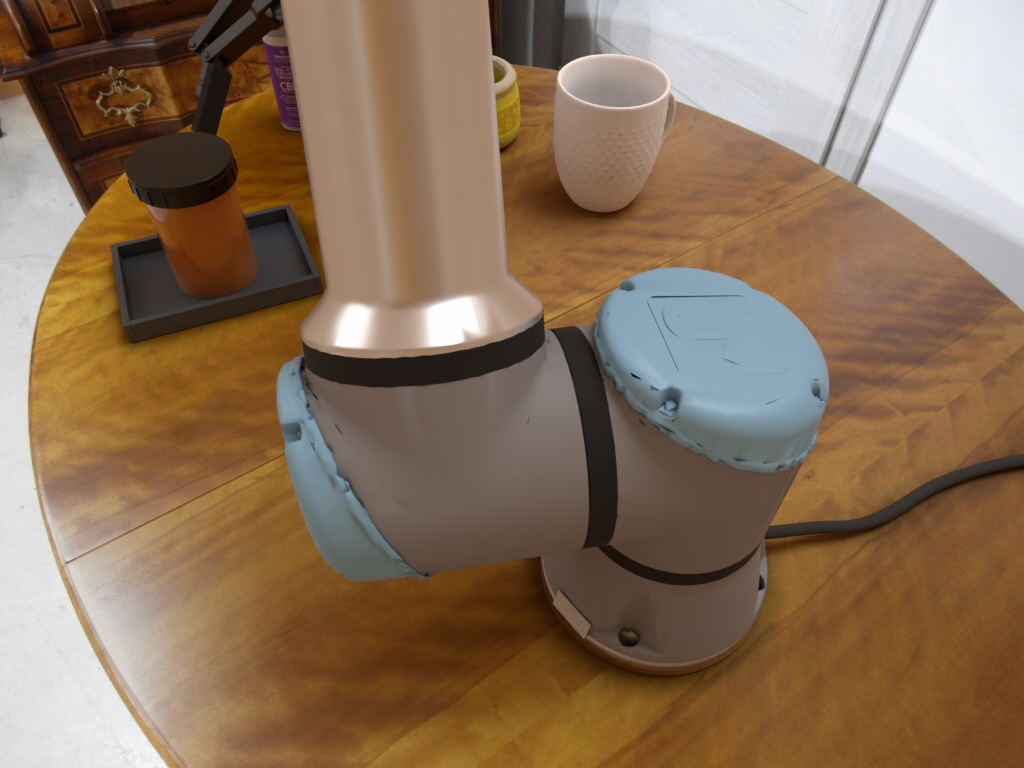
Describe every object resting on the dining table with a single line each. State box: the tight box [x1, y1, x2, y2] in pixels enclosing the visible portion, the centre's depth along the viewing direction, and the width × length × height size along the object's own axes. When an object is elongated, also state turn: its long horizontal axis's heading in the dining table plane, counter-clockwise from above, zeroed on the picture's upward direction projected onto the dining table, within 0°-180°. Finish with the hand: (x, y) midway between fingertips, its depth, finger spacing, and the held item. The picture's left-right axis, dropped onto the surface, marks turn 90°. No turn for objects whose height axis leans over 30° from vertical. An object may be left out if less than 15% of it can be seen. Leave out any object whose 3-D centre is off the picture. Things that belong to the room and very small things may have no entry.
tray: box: [109, 203, 325, 344], centre depth 73 cm, size 17×12×2 cm
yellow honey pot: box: [492, 54, 522, 150], centre depth 87 cm, size 13×11×12 cm
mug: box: [552, 53, 677, 213], centre depth 80 cm, size 15×11×13 cm
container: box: [262, 8, 302, 132], centre depth 87 cm, size 5×5×15 cm
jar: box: [144, 182, 259, 299], centre depth 69 cm, size 8×8×12 cm
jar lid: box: [123, 131, 239, 209], centre depth 65 cm, size 9×9×2 cm
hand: (260, 151), depth 74 cm, fingers open, 13 cm apart
